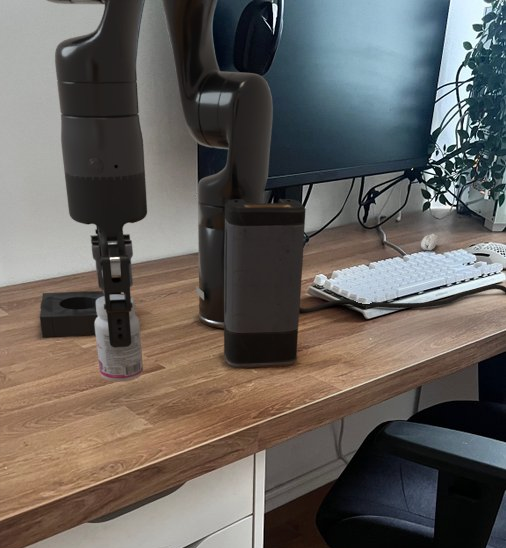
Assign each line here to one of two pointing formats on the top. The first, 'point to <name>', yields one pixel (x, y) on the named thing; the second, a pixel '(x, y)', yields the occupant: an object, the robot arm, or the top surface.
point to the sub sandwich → (429, 242)
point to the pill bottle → (118, 360)
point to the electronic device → (262, 282)
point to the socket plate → (69, 313)
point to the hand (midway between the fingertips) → (119, 335)
